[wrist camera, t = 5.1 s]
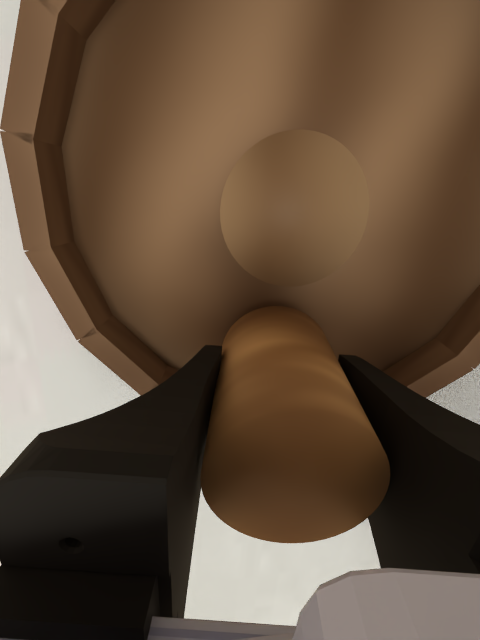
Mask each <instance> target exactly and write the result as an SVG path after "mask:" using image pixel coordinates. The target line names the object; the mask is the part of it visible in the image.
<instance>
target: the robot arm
mask: <svg viewBox="0 0 480 640" xmlns="http://www.w3.org/2000/svg"><path fill="white" fill-rule="evenodd" d="M221 358H222V346H216V345H205V346H204V347H203V348H202V349H201V350H200V351H199V352H198V353H197V354H196V355H195V356H194V357H193V358H192V359H191V360H189V361H188V362H187V363H186V364H185V365H184V366H183V367H182V368H181V369H179V370H178V371H177V372H176V373H175V374H173V375H172V376H171V377H169V378H168V379H167V380H166V381H164V382H163V383H161V384H160V385H158V386H157V387H155V388H153V389H152V390H150V391H148V392H147V393H145V394H143V395H141V396H139V397H137V398H135V399H133V400H131V401H129V402H127V403H125V404H123V405H121V406H119V407H117V408H115V409H112V410H110V411H107V412H105V413H103V414H100V415H97V416H95V417H92V418H89V419H86V420H83V421H80V422H77V423H74V424H70V425H67V426H64V427H60V428H57V429H54V430H50V431H47V432H43V433H40V434H39V435H38V436H37V437H36V438H35V439H34V440H33V441H32V442H31V443H30V444H29V445H28V446H27V447H26V448H25V449H24V451H23V452H22V453H21V454H20V455H19V456H18V458H17V459H16V460H15V461H14V462H13V463H12V465H11V466H10V467H9V468H8V469H7V470H6V471H5V473H4V474H3V475H2V476H1V477H0V561H1V564H2V565H1V566H0V640H480V425H479V424H477V423H474V422H472V421H470V420H468V419H466V418H463V417H461V416H459V415H457V414H455V413H453V412H451V411H449V410H447V409H445V408H443V407H441V406H439V405H437V404H435V403H434V402H432V401H430V400H428V399H426V398H425V397H423V396H421V395H419V394H418V393H416V392H414V391H413V390H411V389H409V388H408V387H406V386H404V385H403V384H401V383H400V382H398V381H396V380H395V379H393V378H392V377H390V376H389V375H387V374H386V373H384V372H382V371H381V370H379V369H378V368H376V367H375V366H373V365H372V364H370V363H369V362H367V361H365V360H364V359H362V358H360V357H358V356H355V355H341V354H339V358H338V362H339V364H340V366H341V367H342V369H343V371H344V373H345V375H346V377H347V379H348V381H349V383H350V385H351V387H352V389H353V391H354V393H355V395H356V397H357V398H358V400H359V402H360V404H361V406H362V408H363V410H364V412H365V414H366V416H367V418H368V420H369V422H370V424H371V426H372V427H373V429H374V431H375V433H376V435H377V437H378V439H379V441H380V443H381V445H382V447H383V449H384V451H385V453H386V455H387V458H388V461H389V465H390V482H389V486H388V489H387V492H386V494H385V496H384V499H383V500H382V502H381V503H380V505H379V506H378V508H377V509H376V510H375V511H374V512H373V513H372V514H371V515H370V516H369V517H368V519H369V523H370V526H371V530H372V534H373V538H374V542H375V546H376V550H377V554H378V558H379V562H380V566H381V569H370V570H359V571H350V572H348V573H345V574H343V575H341V576H339V577H337V578H334V579H332V580H330V581H328V582H326V583H323V584H321V585H320V586H319V587H318V589H317V590H316V591H315V593H314V594H313V595H312V596H311V598H310V599H309V600H308V602H307V603H306V604H305V606H304V607H303V609H302V610H301V612H300V614H299V618H298V622H297V626H284V625H270V624H256V623H241V622H227V621H212V620H198V619H184V611H185V603H186V595H187V587H188V580H189V572H190V565H191V557H192V549H193V542H194V535H195V527H196V520H197V513H198V505H199V498H200V491H201V478H200V476H201V469H202V462H203V457H204V451H205V445H206V439H207V433H208V427H209V421H210V415H211V409H212V403H213V397H214V393H215V388H216V383H217V379H218V375H219V370H220V364H221Z"/></svg>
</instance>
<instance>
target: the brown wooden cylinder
mask: <svg viewBox="0 0 480 640" xmlns="http://www.w3.org/2000/svg"><path fill="white" fill-rule="evenodd" d="M200 478H201V488H202V492H203V495H204V498H205V500H206V502H207V504H208V505H209V507H210V508H211V510H212V511H213V512H214V513H215V514H216V516H217V517H219V518H220V519H221V520H222V521H223V522H224V523H226V524H227V525H229V526H230V527H232V528H233V529H235V530H237V531H239V532H241V533H243V534H246V535H248V536H251V537H254V538H257V539H261V540H266V541H271V542H279V543H305V542H313V541H318V540H323V539H327V538H330V537H333V536H336V535H339V534H341V533H344V532H346V531H348V530H350V529H352V528H354V527H355V526H357V525H358V524H360V523H361V522H363V521H364V520H365V519H366V518H368V517H369V516H370V515H371V514H372V513H373V512H374V511H375V510H376V509H377V508H378V506H379V505H380V503H381V502H382V500H383V499H384V496H385V494H386V492H387V489H388V486H389V482H390V465H389V461H388V458H387V455H386V453H385V451H384V449H383V447H382V445H381V443H380V441H379V439H378V437H377V435H376V433H375V431H374V429H373V427H372V426H371V424H370V422H369V420H368V418H367V416H366V414H365V412H364V410H363V408H362V406H361V404H360V402H359V400H358V398H357V397H356V395H355V393H354V391H353V389H352V387H351V385H350V383H349V381H348V379H347V377H346V375H345V373H344V371H343V369H342V367H341V366H340V364H339V362H338V360H337V358H336V356H335V354H334V352H333V350H332V348H331V346H330V344H329V342H328V340H327V338H326V337H325V335H324V333H323V331H322V329H321V328H320V326H319V325H318V324H317V323H316V322H315V321H314V320H313V319H312V318H311V317H310V316H308V315H307V314H305V313H303V312H301V311H299V310H296V309H293V308H289V307H283V306H269V307H263V308H259V309H256V310H253V311H251V312H249V313H247V314H245V315H244V316H242V317H241V318H239V319H238V320H237V321H236V322H235V323H234V324H233V325H232V326H231V328H230V329H229V331H228V332H227V334H226V336H225V338H224V341H223V344H222V358H221V364H220V370H219V375H218V379H217V383H216V388H215V393H214V397H213V403H212V409H211V415H210V421H209V427H208V433H207V439H206V445H205V451H204V457H203V462H202V469H201V476H200Z"/></svg>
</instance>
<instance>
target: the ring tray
mask: <svg viewBox="0 0 480 640" xmlns="http://www.w3.org/2000/svg"><path fill="white" fill-rule="evenodd" d="M0 129H2V130H4V131H6V132H4V131H0V133H1V138H2V143H3V148H4V153H5V158H6V163H7V168H8V173H9V178H10V183H11V188H12V193H13V198H14V203H15V208H16V213H17V218H18V223H19V228H20V233H21V238H22V243H23V249H24V250H29V251H27V252H25V254H26V255H27V257H28V259H29V260H30V262H31V264H32V266H33V267H34V269H35V271H36V272H37V274H38V276H39V277H40V279H41V281H42V282H43V284H44V286H45V287H46V289H47V291H48V293H49V294H50V296H51V298H52V299H53V301H54V303H55V304H56V306H57V308H58V309H59V311H60V313H61V314H62V316H63V318H64V320H65V321H66V323H67V325H68V326H69V328H70V330H71V331H72V333H73V335H74V336H75V338H76V340H79V339H80V340H79V341H78V342H79V343H80V344H81V345H82V346H84V347H85V348H86V349H87V350H88V351H90V352H91V353H92V354H93V355H94V356H95V357H97V358H98V359H99V360H100V361H101V362H102V363H104V364H105V365H106V366H107V367H108V368H109V369H111V370H112V371H113V372H114V373H115V374H116V375H118V376H119V377H120V378H121V379H122V380H123V381H125V382H126V383H127V384H128V385H129V386H131V387H132V388H133V389H134V390H135V391H136V392H138V393H139V394H140V395H143V394H145V393H147V392H148V391H150V390H152V389H153V388H155V387H157V386H158V385H160V384H161V383H163V382H164V381H166V380H167V379H168V378H169V377H171V376H172V375H173V374H175V373H176V372H177V371H178V370H179V369H181V368H182V367H183V366H184V365H185V364H186V363H187V362H188V361H189V360H191V359H192V358H193V357H194V356H195V355H196V354H197V353H198V352H199V351H200V350H201V349H202V348H203V347H204V346H205V345H216V346H222V344H223V341H224V338H225V336H226V334H227V332H228V331H229V329H230V328H231V326H232V325H233V324H234V323H235V322H236V321H237V320H238V319H239V318H241V317H242V316H244V315H245V314H247V313H249V312H251V311H253V310H256V309H259V308H263V307H269V306H283V307H289V308H293V309H296V310H299V311H301V312H303V313H305V314H307V315H308V316H310V317H311V318H312V319H313V320H314V321H315V322H316V323H317V324H318V325H319V326H320V328H321V329H322V331H323V333H324V335H325V337H326V338H327V340H328V342H329V344H330V346H331V348H332V350H333V352H334V354H335V356H336V358H337V360H338V358H339V354H341V355H355V356H358V357H360V358H362V359H364V360H365V361H367V362H369V363H370V364H372V365H373V366H375V367H376V368H378V369H379V370H381V371H382V372H384V373H386V374H387V375H389V376H390V377H392V378H393V379H395V380H396V381H398V382H400V383H401V384H403V385H404V386H406V387H408V388H409V389H411V390H413V391H414V392H416V393H418V394H419V395H421V396H423V397H425V398H426V397H428V396H429V395H431V394H433V393H434V392H436V391H438V390H440V389H441V388H443V387H445V386H446V385H448V384H450V383H452V382H453V381H455V380H457V379H458V378H460V377H462V376H464V375H465V374H467V373H469V372H470V371H472V370H473V369H472V368H471V367H473V368H474V369H475V368H476V367H477V366H478V365H479V364H480V0H21V3H20V9H19V15H18V21H17V28H16V34H15V40H14V46H13V52H12V58H11V64H10V71H9V77H8V83H7V89H6V95H5V101H4V107H3V114H2V120H1V126H0Z"/></svg>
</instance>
